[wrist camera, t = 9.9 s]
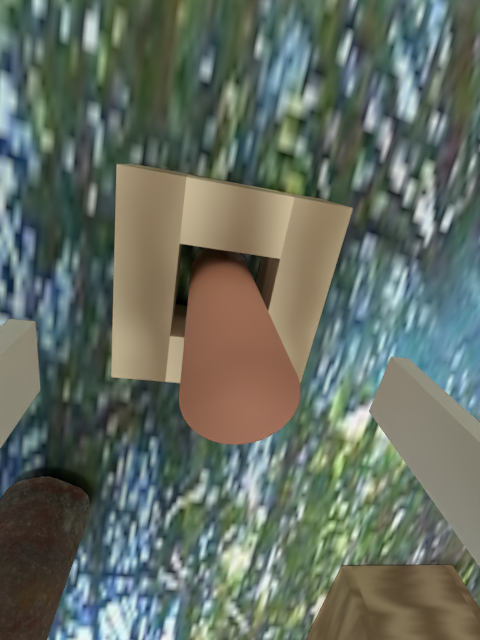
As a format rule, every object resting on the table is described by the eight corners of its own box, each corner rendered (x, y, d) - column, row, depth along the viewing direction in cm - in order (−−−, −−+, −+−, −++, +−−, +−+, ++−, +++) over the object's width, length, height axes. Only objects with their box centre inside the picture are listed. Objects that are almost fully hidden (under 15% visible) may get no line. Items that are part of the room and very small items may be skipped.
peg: (187, 295, 24) (173, 441, 11) (194, 240, 22) (185, 338, 10) (242, 302, 25) (285, 447, 12) (252, 249, 23) (314, 351, 10)
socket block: (127, 338, 25) (111, 377, 20) (135, 163, 20) (116, 164, 16) (281, 354, 27) (297, 392, 22) (322, 199, 22) (352, 208, 18)
